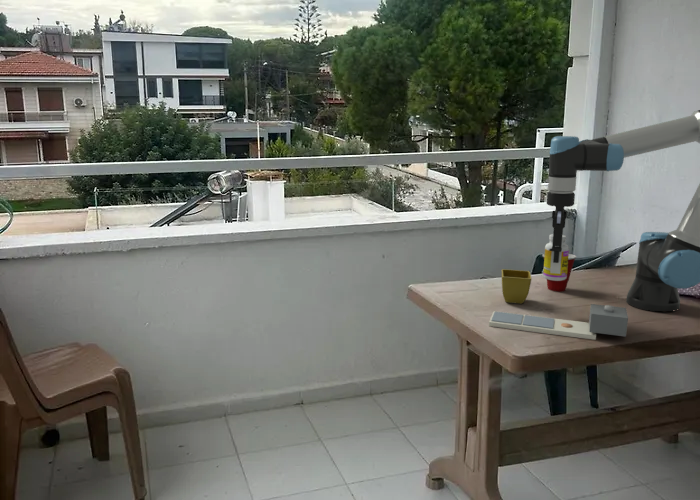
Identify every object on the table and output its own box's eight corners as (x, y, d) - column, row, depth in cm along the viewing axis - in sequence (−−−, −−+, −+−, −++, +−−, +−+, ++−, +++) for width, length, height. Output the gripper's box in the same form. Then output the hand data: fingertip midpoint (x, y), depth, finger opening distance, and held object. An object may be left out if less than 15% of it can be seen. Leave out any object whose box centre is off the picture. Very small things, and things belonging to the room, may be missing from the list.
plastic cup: (559, 283, 222) (563, 249, 220) (579, 292, 212) (583, 257, 210) (532, 285, 219) (535, 251, 216) (551, 295, 209) (555, 259, 206)
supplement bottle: (563, 282, 184) (566, 238, 181) (540, 279, 188) (543, 236, 185) (569, 277, 190) (572, 234, 187) (546, 274, 193) (549, 232, 190)
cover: (623, 325, 177) (626, 303, 175) (625, 336, 168) (628, 313, 167) (588, 321, 180) (591, 299, 178) (589, 331, 171) (591, 309, 170)
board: (594, 327, 180) (595, 322, 180) (595, 339, 171) (596, 334, 170) (493, 314, 189) (493, 310, 188) (488, 325, 179) (489, 320, 179)
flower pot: (529, 306, 197) (531, 278, 195) (500, 304, 199) (502, 276, 197) (527, 298, 205) (529, 270, 203) (499, 296, 207) (501, 269, 205)
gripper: (548, 186, 193) (543, 260, 198) (545, 195, 175) (540, 277, 180) (575, 187, 190) (569, 262, 196) (574, 197, 172) (568, 279, 178)
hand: (555, 269), depth 188 cm, fingers closed on supplement bottle, 7 cm apart
